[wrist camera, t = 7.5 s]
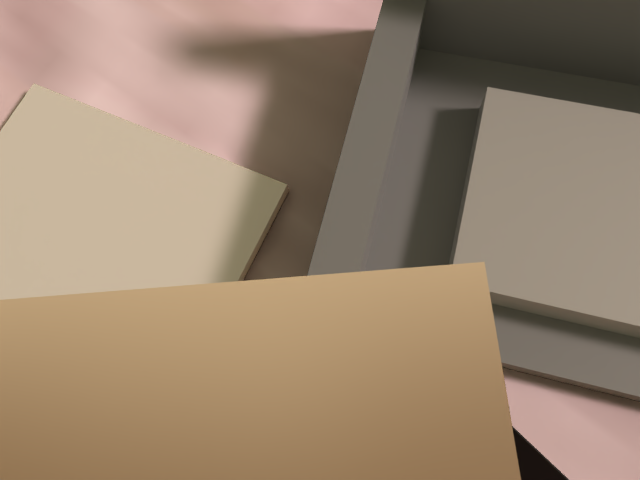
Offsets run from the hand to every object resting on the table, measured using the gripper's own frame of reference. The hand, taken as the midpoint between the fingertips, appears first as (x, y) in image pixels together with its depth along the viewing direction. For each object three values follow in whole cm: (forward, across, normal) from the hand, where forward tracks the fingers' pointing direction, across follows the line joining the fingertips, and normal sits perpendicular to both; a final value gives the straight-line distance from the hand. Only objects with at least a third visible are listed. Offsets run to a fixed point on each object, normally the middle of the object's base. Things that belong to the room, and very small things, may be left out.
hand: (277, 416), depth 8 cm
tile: (+13, +10, +4) cm, 17 cm away
